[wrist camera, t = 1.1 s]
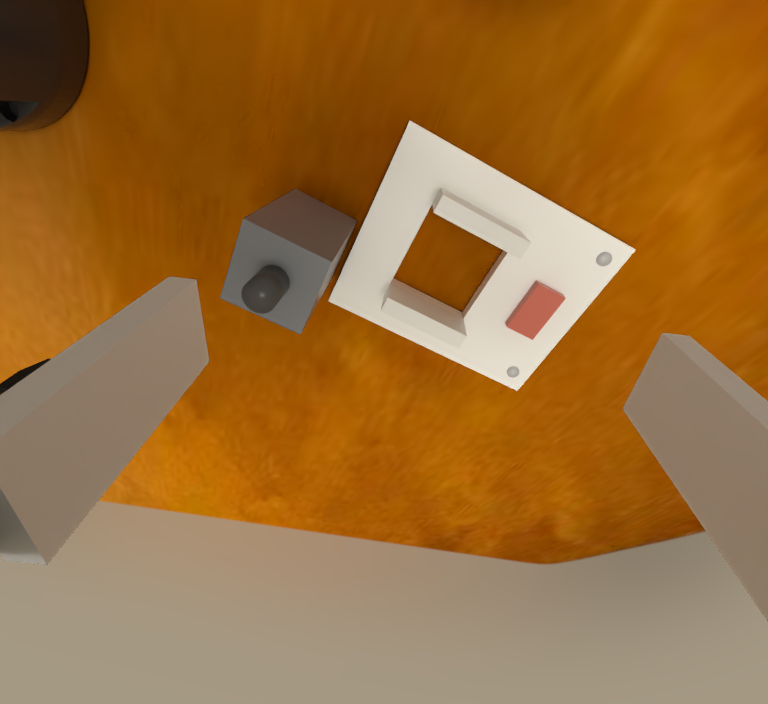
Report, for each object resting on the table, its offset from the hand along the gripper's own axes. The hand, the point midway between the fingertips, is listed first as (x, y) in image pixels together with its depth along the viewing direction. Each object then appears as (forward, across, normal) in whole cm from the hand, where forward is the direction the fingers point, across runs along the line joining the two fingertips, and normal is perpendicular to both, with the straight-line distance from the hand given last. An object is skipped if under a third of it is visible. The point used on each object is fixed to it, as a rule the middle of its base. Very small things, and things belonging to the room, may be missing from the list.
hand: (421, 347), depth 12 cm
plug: (+21, -8, -3) cm, 22 cm away
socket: (+20, +5, -5) cm, 21 cm away
